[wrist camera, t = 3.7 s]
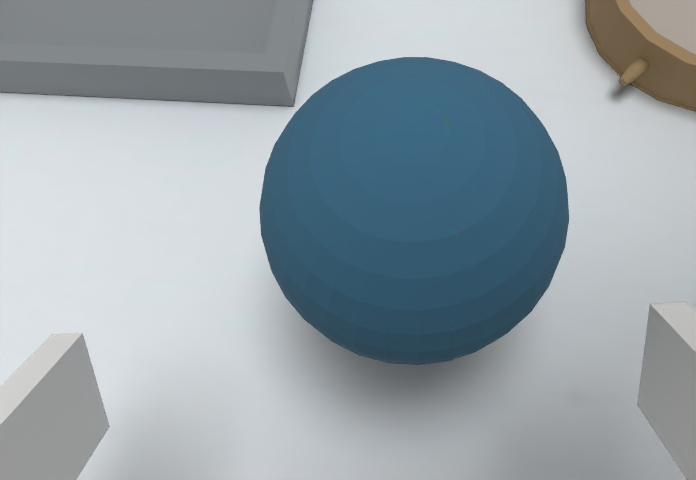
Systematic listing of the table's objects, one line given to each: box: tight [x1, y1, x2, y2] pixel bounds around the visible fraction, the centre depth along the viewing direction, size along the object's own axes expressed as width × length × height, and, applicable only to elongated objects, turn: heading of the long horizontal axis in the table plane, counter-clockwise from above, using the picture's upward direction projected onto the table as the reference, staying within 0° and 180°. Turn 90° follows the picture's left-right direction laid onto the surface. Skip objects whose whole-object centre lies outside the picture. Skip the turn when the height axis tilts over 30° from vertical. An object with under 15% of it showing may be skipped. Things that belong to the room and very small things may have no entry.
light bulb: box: [260, 57, 569, 365], centre depth 18 cm, size 8×8×12 cm
